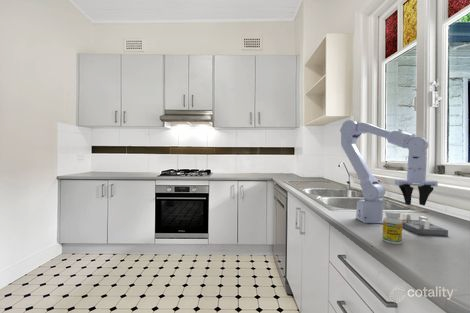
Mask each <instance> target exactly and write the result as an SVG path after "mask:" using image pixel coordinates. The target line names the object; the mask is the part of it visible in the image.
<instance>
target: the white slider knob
mask: <svg viewBox="0 0 470 313" xmlns="http://www.w3.org/2000/svg"><path fill="white" fill-rule="evenodd" d="M420 219H421V220H427V221H429V217H426V216H422V215H419V216H418V220H419V223H420Z"/></svg>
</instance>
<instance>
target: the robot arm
mask: <svg viewBox="0 0 470 313" xmlns="http://www.w3.org/2000/svg"><path fill="white" fill-rule="evenodd" d="M339 131H340V146H341V148H342V149H343V151H344V153H345V155H346V156H347V158H348V160H349V162H350V164H351V166H352V167H353V169H354V171H355V173H356V175H357V177H358V179H359V181H360V183H359V186H360V187H361V194H362V196H363V199H358V200H357V201H356V215H355V218H356V219H357V220H359V221H361V222H362V223H364V224H383V219H384V217H383V215H384V199H383V197H384V196H385V195H386V188H385V186H384V185H383V184H381V183H380V181H378V179H377V178H376V177H375V175H373V173H372V172H371V170H370V168H369V166H368V164H367V163H366V162H365V159H364V158H363V156H362V154H361V152H360V151H359V149H358V147H357V146H356V143H357V140H358V138H359V137H360V136H361V135H362V134H363V135H364V134H372V135H376V136H378V137H381V138H384V139H386V141H387V142H388V143H389V144H392V145H394V146H397V147H399V148H403V149H407V150H408V155H407V174H406V179H394V186H396V185H397V186H398V188H399V190H400V191H401V193H402V195H403V196H402V197H403V199H404V203H405V205H408V206H411V205H412V196H413V191H414V189H415V188H414V187H415V186H417V188H418V189H417V190H418V195H419V196H418V197H419V198H418V203H419V204H418V205H420V206H426V203H427V200H428V199H429V197H430V195H431V193H432V192H433V191H434V187H437V188H438V187H439V186H438V184H439V181H438V180H437V181H436V180H426V179H427V177H426V176H427V161H428V160H427V157H428V156H427V154H428V153H427V149H428V148H429V141H427V140H428V139H426V138H424V137H423V136H416V135H417V134H415V133H412V134H411V133H408V132H406V131H403V129H400V128H398V129H392V130H387V129H384V128H382V127H379V126H376V125H373V124H371V123H367V122H360V121H354V120H351V119H347V120H346V121H344V122H343V123H342V124H341V127H340V129H339ZM413 186H414V187H413Z"/></svg>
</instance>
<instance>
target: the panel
mask: <svg viewBox="0 0 470 313" xmlns="http://www.w3.org/2000/svg"><path fill="white" fill-rule="evenodd" d="M401 220H402V222H403V224H402V229H404V230H407V231H409V232H411V233H413V234H415V235H418V236H437V237H439V236H441V237H449V230H448V229H446V228H443V227H442V226H438V225H436V224H433V223H430V221H429V220H428V221H427V220H421V219H420V223H419V219H412V214H411V213H408V212H402V219H401Z"/></svg>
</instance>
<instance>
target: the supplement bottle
mask: <svg viewBox="0 0 470 313" xmlns="http://www.w3.org/2000/svg"><path fill="white" fill-rule="evenodd" d="M382 220H383V223H382V241H383V242H385V243H388V244H392V245H401V244H402V243H403V228H402V224H403V222H402V220H403V219H401V212H399V211H396V210H395V211H394V210H386V211H385V216H384V217H383V219H382Z"/></svg>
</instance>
